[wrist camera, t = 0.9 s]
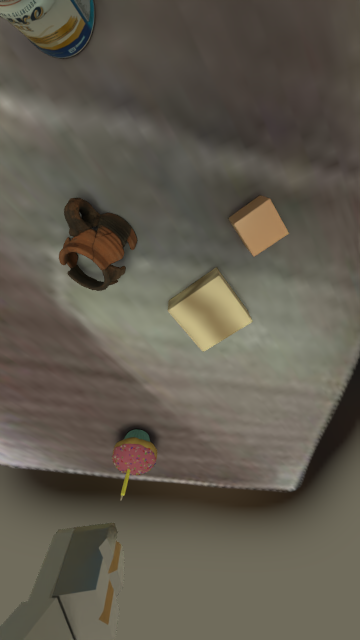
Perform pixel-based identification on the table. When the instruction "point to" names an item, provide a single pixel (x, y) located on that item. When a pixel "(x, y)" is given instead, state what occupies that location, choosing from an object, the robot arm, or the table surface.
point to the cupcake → (134, 455)
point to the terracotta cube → (258, 225)
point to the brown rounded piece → (95, 243)
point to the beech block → (209, 310)
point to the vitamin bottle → (52, 23)
